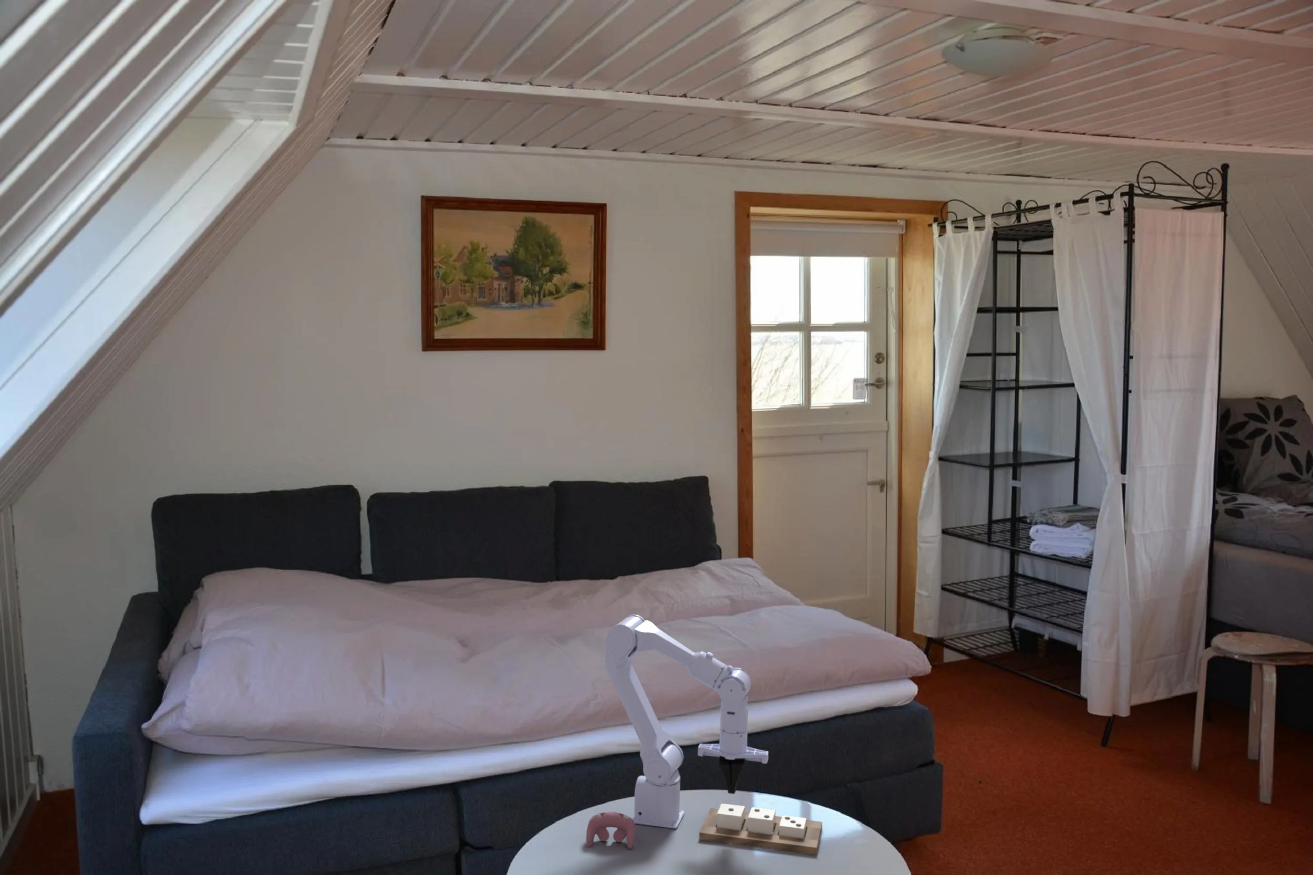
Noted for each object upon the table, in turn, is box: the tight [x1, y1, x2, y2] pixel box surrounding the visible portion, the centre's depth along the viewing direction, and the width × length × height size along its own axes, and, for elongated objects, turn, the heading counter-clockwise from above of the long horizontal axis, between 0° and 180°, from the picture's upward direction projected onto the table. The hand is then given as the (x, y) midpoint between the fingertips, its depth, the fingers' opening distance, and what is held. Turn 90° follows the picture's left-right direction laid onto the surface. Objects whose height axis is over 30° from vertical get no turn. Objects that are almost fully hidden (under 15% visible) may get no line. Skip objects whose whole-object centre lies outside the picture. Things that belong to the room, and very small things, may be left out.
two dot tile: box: [748, 806, 776, 835], centre depth 221 cm, size 5×5×3 cm
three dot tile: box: [779, 815, 807, 839], centre depth 219 cm, size 5×5×3 cm
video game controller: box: [585, 811, 636, 850], centre depth 216 cm, size 10×5×7 cm, turn 85°
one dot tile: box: [717, 803, 746, 831], centre depth 223 cm, size 5×5×3 cm
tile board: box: [698, 807, 823, 856], centre depth 221 cm, size 24×12×2 cm, turn 76°
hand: (731, 791), depth 222 cm, fingers closed
